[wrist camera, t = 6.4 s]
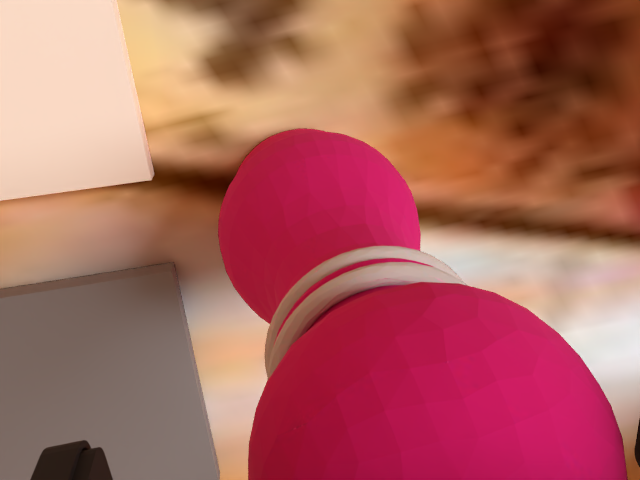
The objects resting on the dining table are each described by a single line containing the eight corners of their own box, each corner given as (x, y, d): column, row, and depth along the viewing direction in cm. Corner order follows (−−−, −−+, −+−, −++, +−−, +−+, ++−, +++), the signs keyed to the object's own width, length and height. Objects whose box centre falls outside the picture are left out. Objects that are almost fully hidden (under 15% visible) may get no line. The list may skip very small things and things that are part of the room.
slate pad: (173, 261, 24) (171, 271, 23) (219, 471, 28) (219, 486, 27) (-120, 307, 22) (-134, 319, 21) (-23, 520, 27) (-32, 537, 26)
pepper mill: (249, 294, 25) (321, 1031, 6) (194, 145, 22) (43, 681, 4) (397, 246, 25) (864, 811, 7) (361, 94, 23) (978, 347, 4)
